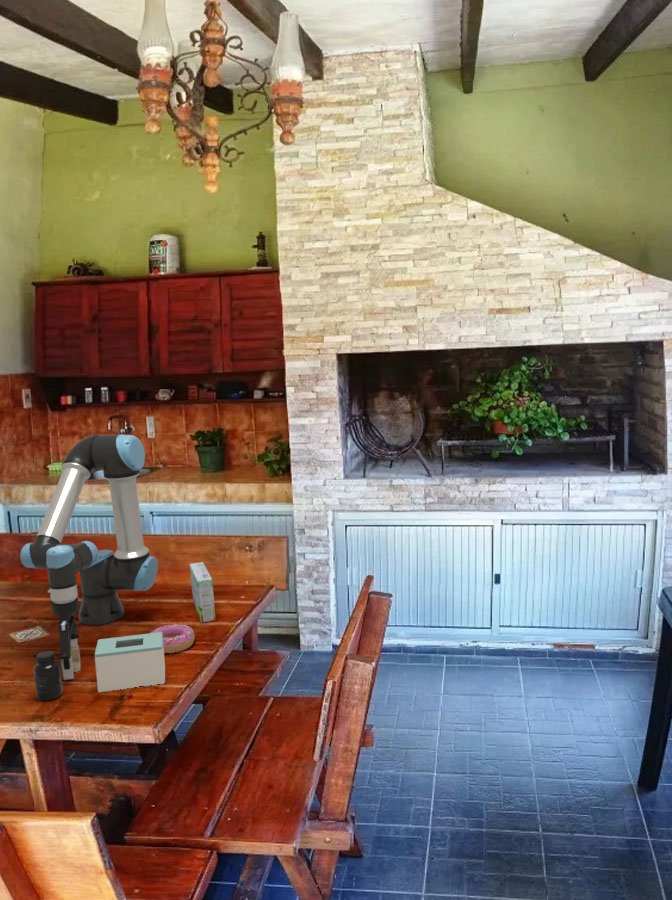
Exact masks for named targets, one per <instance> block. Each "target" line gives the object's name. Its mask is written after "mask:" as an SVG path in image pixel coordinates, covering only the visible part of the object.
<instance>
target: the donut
mask: <svg viewBox="0 0 672 900" xmlns="http://www.w3.org/2000/svg"><path fill="white" fill-rule="evenodd" d="M158 632H162V635H163V647H164V655H166V654H165V653H169V654H176V653H179V652H183V651H185V650H187V649H189V648H190V647H191V646H192V645H193V644H194V641H195V639H196V637H195V632H194V630H193V627H192V626H188V625H186V624H177V623H176V624H175V623H173V624H172V623H171V624H165V625H162V626H160V627H157V628H155V629H153V630H151V631H150V633H158ZM175 652H176V653H175Z"/></svg>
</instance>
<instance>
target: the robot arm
mask: <svg viewBox="0 0 672 900" xmlns="http://www.w3.org/2000/svg"><path fill="white" fill-rule="evenodd" d="M145 460H146V452H145V448H144V445H143V443H142V441H141V440H140V439H139V438H138V437H137V436H136V435H132V434H124V433H123V434H121V433H120V434H92V435H88V436H85V437H84V438H82V439H80V440H79V441H78V442H76V444H75V445H73V447H72V448H71V449H70V450H69V452H68V453H67V454H66V455H65V457H64V459H63V461H62V464H61V466H60V470H61V475H60V477H59V480H58V483H57V485H56V487H55V490H54V492H53V495H52V497H51V500H50V502H49V503H48V504H49V505H48V507H47V510H46V512H45V513H44V514H45V515H44V517H43V520H42V522H41V525H40V526H39V529H38V531H37V534H36V537H35V539H34V541H33V542H29V543H25V544H24V545H23V547H22V548H21V550H20V562H21V564H22V565H23V567H25V568H28V569H29V568H31V569H37V570H39V569H47V577H48V583H49V589H48V590H47V593H48V594H50V601H51V602H50V605H51V606H50V607H51V614H52V615H53V616H54V617H59V620H58V633H59V656H58V658H57V659H58V660H61V659H62V667H61V669H62V668H63V674H62V676H63V680H64V681H66V680H73V679H74V678H75V675H74V673H73V664H72V656H71V646H79V645H78V639H79V638H80V633H79V634H78V629H77V624H76V618H75V614H76V613H78V621H79V622H80V623H81V624H82V625H83V624H84V625H88V626H97V625H107V624H110V623H114V622H115V621H119V620H120V619H122V618H123V617H124V616H125V608H124V606H123V604H122V601H121V599H120V597H119V595H118V591H132V592H133V591H134V592H139V591H141V592H142V591H148V590H150V589H151V588H152V587H153V585H154V584H155V581H156V578H157V575H158V567H159V566H158V565H159V564H158V560H157V558H156V557H155V556H152V555H150V549H149V548H148V547H147V546H146V545H145V543H144V537H143V536H144V535H143V529H142V519H141V512H140V502H139V494H138V487H137V486H138V485H137V477H138V476H139V475H140V470H141V469H143V467H144V466H145V462H146V461H145ZM94 471H102V473H103V478H104V479H105V480H107V481H108V484H109V490H110V491H109V492H110V496H111V505H112V507H111V508H112V514H113V523H114V529H115V536H116V545H117V549H116V551H115V552H114V550H111V549H101V550H98V548H97V546H96V545H95V543H93V542H91V541H89V540H84V541H83V540H82V541H80V542H78V543H75V544H72V543H70V544H69V543H68V544H67V543H62V541H63V538H64V536H65V533H66V531H67V528H68V525H69V523H70V521H71V518H72V516H73V513H74V510H75V508H76V505H77V503H78V500H79V497H80V495H81V492H82V491H83V490H82V489H83V486H84V485H85V482H86V480H88V479H90V477H91V475H92V473H93V472H94ZM78 573H79V578H80V588H81V597H82V599H81V603H80V605H79V598H78V596H79V593H78V583H77V574H78Z"/></svg>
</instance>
